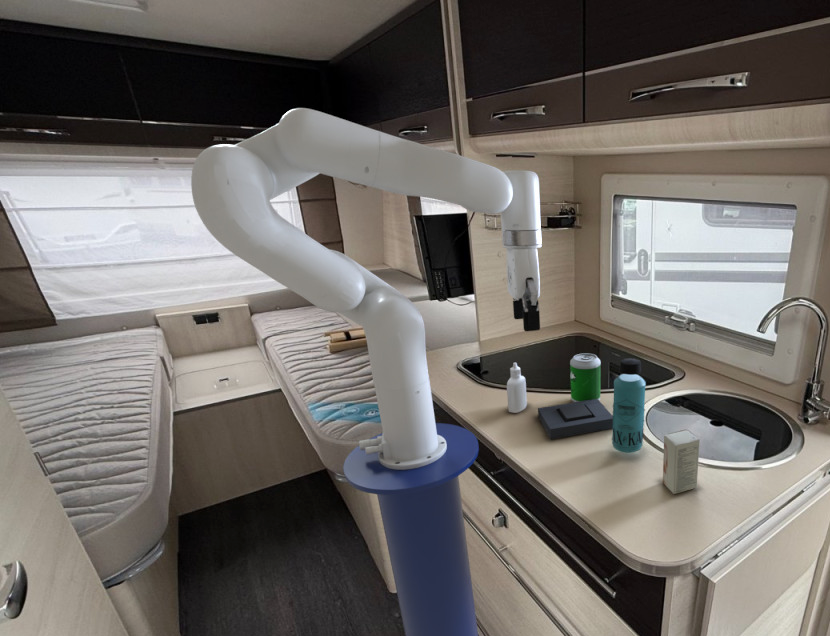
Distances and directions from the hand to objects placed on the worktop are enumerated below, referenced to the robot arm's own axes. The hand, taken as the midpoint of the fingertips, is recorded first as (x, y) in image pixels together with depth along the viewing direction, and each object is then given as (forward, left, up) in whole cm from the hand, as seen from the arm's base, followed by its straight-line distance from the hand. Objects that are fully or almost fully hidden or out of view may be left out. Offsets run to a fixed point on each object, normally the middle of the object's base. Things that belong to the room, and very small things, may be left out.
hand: (526, 324), depth 97 cm
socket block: (+10, -1, -24) cm, 26 cm away
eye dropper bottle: (-1, +11, -24) cm, 27 cm away
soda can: (+16, +9, -24) cm, 31 cm away
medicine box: (+20, -31, -24) cm, 44 cm away
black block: (+10, -1, -24) cm, 26 cm away
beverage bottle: (+16, -17, -24) cm, 34 cm away
